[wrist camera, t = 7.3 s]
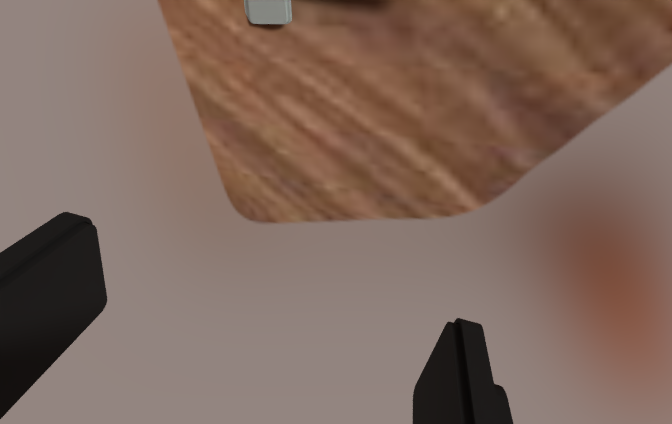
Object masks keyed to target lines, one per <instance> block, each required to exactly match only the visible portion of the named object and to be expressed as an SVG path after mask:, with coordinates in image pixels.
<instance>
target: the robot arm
mask: <svg viewBox="0 0 672 424" xmlns="http://www.w3.org/2000/svg"><path fill="white" fill-rule="evenodd" d="M106 303H107V295H106V288H105V281H104V275H103V268H102V261H101V255H100V248H99V242H98V236H97V229H96V227H95V226H94V225H93V224H92V221H91V220H90V219H89V218H87V217H83V216H79V215H76V214H72V213H69V212H63V213H61V214H59V215H57V216H56V217H54V218H53V219H51V220H50V221H48V222H47V223H45V224H44V225H42V226H40V227H39V228H37V229H36V230H34V231H33V232H31V233H30V234H28V235H27V236H25V237H24V238H22V239H21V240H19V241H18V242H16V243H14V244H13V245H12V246H10V247H8V248H7V249H5V250H4V251H2V252H1V253H0V419H1V418H2V417H3V416H4V415H5V414H6V412H7V411H8V410H9V409H10V408H11V407H12V406H13V405H14V404H15V403H16V402H17V401H18V400H19V399H20V398H21V397H22V396H23V395H24V394H25V392H26V391H27V390H28V389H29V388H30V387H31V386H32V385H33V384H34V383H35V382H36V381H37V379H39V378H40V377H41V375H42V374H43V373H44V372H45V371H46V370H47V369H48V368H49V367H50V366H51V365H52V364H53V363H54V362H55V361H56V360H57V359H58V357H60V355H61V354H62V353H63V352H64V351H65V350H66V349H67V348H68V347H69V346H70V345H71V344H72V343H73V342H74V341H75V340H76V339H77V337H78V336H79V335H80V334H81V333H82V332H83V331H84V330H85V329H86V328H87V327H88V326H89V325H90V324H91V323H92V322H93V320H95V318H96V317H97V316H98V315H99V314H100V313H101V312H102V311H103V309H104V307H105V305H106ZM413 424H513V420H512V416H511V412H510V407H509V403H508V398H507V395H506V393H505V391H504V389H503V387H501V386H499V385H496V384H494V382H493V377H492V372H491V367H490V362H489V357H488V352H487V347H486V342H485V337H484V332H483V328H482V325H481V324H478V323H475V322H471V321H467V320H463V319H460V318H457V319H456V320H455V322H454V323H452V322H447V324H446V326H445V327H444V329H443V331H442V333H441V335H440V337H439V340H438V342H437V343H436V346H435V348H434V350H433V351H432V354H431V355H430V357H429V360H428V362H427V363H426V366H425V367H424V369H423V371H422V373H421V375H420V378H419V380H418V381H417V384H416V386H415V389H414V394H413Z"/></svg>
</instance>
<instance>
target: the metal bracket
mask: <svg viewBox="0 0 672 424" xmlns="http://www.w3.org/2000/svg"><path fill="white" fill-rule="evenodd" d="M244 5H245V13H246V15H247V17H248V19H249V21H250V22H251V23H253V24H288V23H290V22H291V20H292V11H291V0H244Z"/></svg>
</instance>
